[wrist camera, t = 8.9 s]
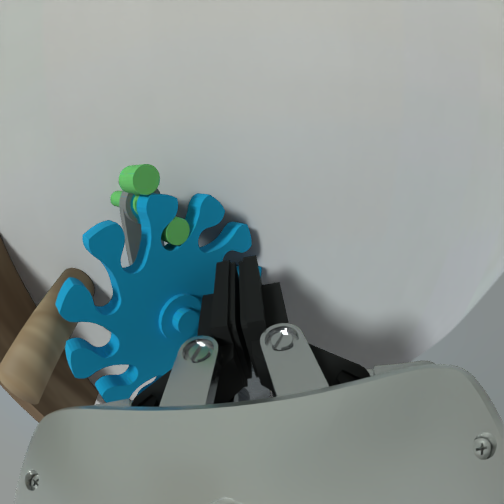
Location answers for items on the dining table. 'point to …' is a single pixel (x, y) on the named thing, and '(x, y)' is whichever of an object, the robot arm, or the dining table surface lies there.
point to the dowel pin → (39, 344)
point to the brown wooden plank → (5, 332)
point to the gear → (147, 282)
